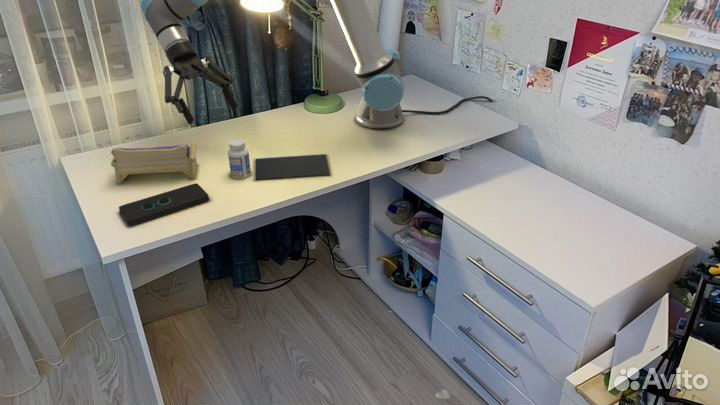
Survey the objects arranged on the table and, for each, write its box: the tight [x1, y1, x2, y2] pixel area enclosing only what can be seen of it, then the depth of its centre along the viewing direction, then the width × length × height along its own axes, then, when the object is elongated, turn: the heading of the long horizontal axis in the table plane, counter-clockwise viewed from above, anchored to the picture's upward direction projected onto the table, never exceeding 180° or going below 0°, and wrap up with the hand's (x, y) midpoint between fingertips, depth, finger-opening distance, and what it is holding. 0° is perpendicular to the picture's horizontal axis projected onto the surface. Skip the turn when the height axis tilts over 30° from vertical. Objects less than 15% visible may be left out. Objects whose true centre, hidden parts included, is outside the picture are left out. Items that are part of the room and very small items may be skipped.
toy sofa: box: [110, 142, 198, 184], centre depth 151 cm, size 21×9×10 cm, turn 99°
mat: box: [255, 153, 331, 181], centre depth 157 cm, size 20×12×1 cm, turn 99°
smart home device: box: [118, 182, 210, 227], centre depth 139 cm, size 8×2×20 cm
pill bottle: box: [227, 138, 252, 180], centre depth 151 cm, size 5×5×10 cm
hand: (214, 115), depth 152 cm, fingers open, 13 cm apart
